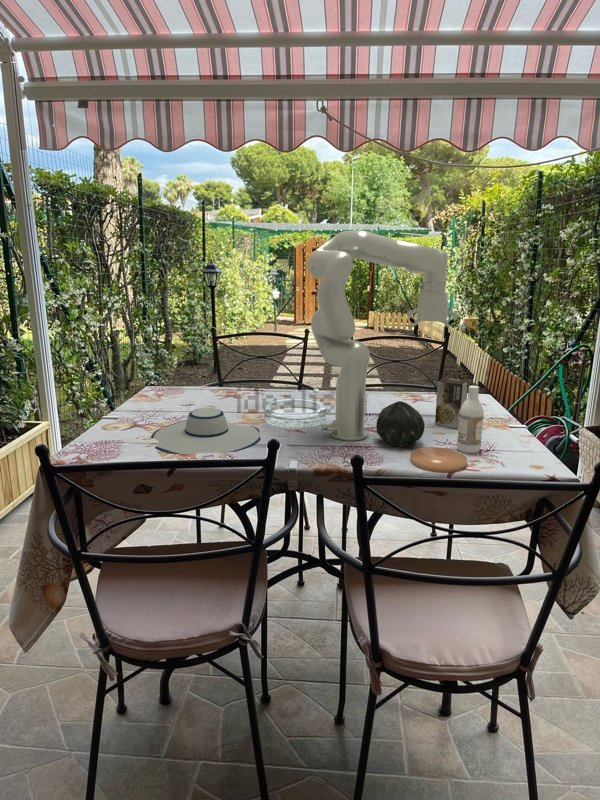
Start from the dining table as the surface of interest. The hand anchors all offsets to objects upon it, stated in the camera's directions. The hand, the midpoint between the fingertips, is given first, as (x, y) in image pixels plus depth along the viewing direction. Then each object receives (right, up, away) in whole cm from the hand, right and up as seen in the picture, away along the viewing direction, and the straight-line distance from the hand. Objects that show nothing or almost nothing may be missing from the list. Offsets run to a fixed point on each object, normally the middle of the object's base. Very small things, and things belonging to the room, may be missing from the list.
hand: (430, 337), depth 194 cm
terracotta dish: (-6, -40, -34) cm, 53 cm away
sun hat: (-76, -35, -12) cm, 85 cm away
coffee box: (+7, -31, 0) cm, 32 cm away
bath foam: (+6, -37, -24) cm, 45 cm away
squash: (-14, -36, -18) cm, 42 cm away
